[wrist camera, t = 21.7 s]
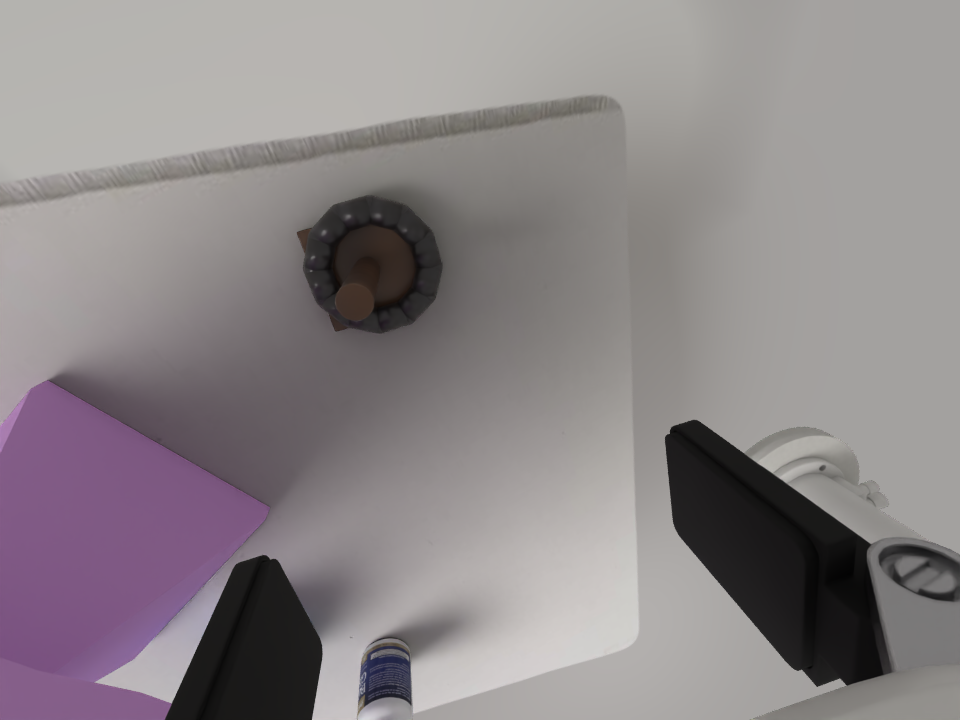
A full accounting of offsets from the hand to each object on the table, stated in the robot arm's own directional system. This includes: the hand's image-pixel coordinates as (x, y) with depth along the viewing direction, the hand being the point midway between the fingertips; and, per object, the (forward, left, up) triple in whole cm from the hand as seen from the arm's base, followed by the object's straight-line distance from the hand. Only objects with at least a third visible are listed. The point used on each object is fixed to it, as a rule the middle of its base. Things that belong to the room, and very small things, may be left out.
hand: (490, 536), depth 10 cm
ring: (+3, -3, -27) cm, 27 cm away
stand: (+3, -3, -29) cm, 29 cm away
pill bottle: (+15, +38, -29) cm, 50 cm away
